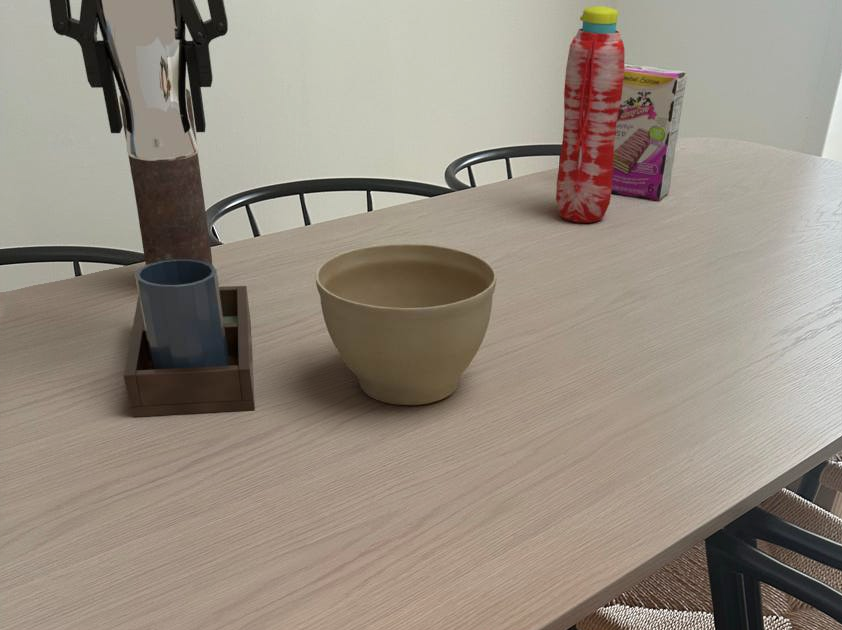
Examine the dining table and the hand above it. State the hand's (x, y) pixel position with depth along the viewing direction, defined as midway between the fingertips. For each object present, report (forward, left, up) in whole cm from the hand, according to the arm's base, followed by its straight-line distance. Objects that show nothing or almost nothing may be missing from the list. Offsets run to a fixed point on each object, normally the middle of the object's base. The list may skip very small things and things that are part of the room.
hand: (159, 128), depth 87 cm
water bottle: (+52, +41, -21) cm, 69 cm away
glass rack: (0, -3, -21) cm, 21 cm away
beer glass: (0, 0, -2) cm, 2 cm away
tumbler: (0, -9, -20) cm, 21 cm away
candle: (-2, +19, -21) cm, 28 cm away
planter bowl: (+20, -10, -21) cm, 31 cm away
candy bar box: (+62, +51, -21) cm, 83 cm away
